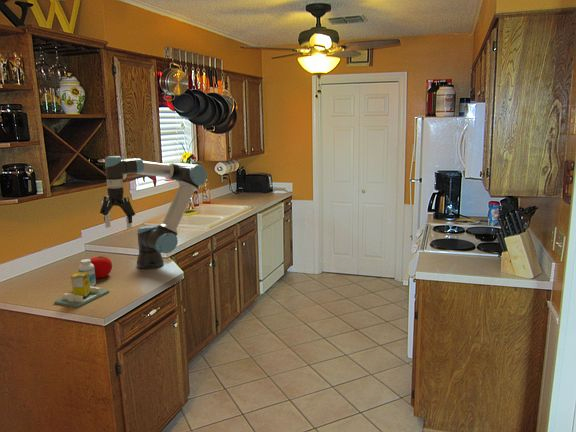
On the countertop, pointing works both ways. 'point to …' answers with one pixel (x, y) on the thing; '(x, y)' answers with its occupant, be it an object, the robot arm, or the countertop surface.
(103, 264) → the tomato
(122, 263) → the countertop surface
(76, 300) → the board
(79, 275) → the supplement box
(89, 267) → the pill bottle
